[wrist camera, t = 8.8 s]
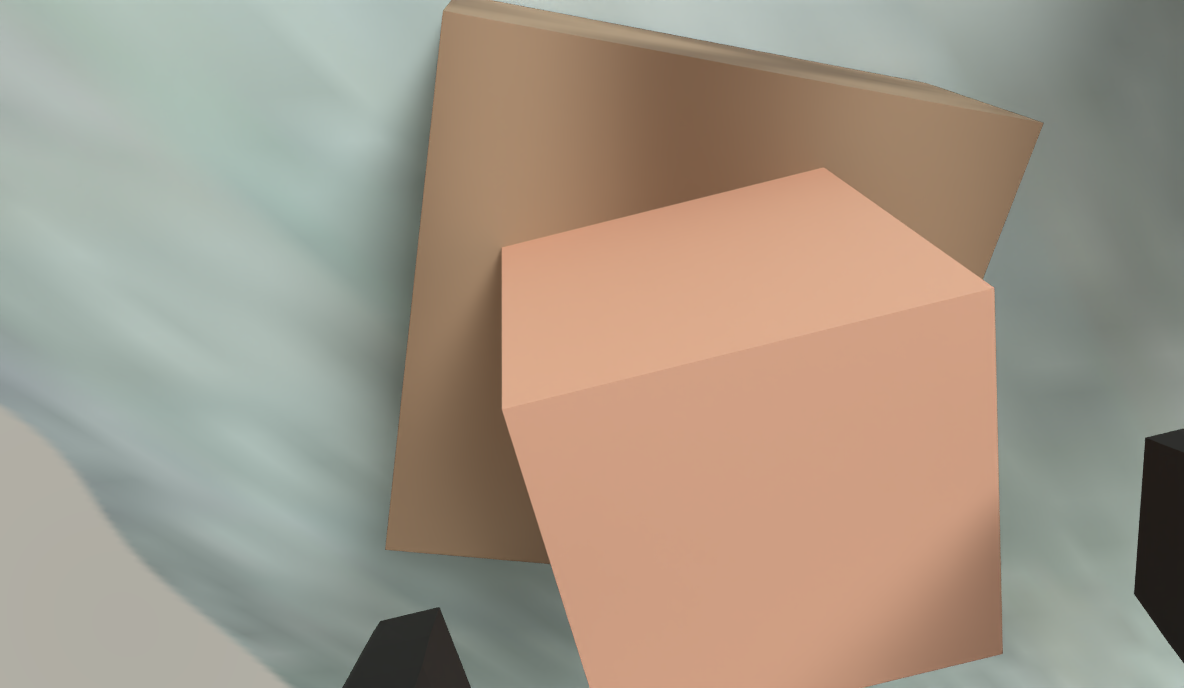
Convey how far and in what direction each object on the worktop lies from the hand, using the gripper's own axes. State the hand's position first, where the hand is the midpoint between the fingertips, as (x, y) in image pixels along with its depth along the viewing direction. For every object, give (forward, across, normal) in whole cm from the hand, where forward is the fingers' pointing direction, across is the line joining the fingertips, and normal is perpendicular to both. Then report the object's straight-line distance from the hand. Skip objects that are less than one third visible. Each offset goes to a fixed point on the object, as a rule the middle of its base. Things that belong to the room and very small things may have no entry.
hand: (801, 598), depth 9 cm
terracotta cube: (+6, 0, 0) cm, 6 cm away
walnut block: (+10, 0, 0) cm, 10 cm away
